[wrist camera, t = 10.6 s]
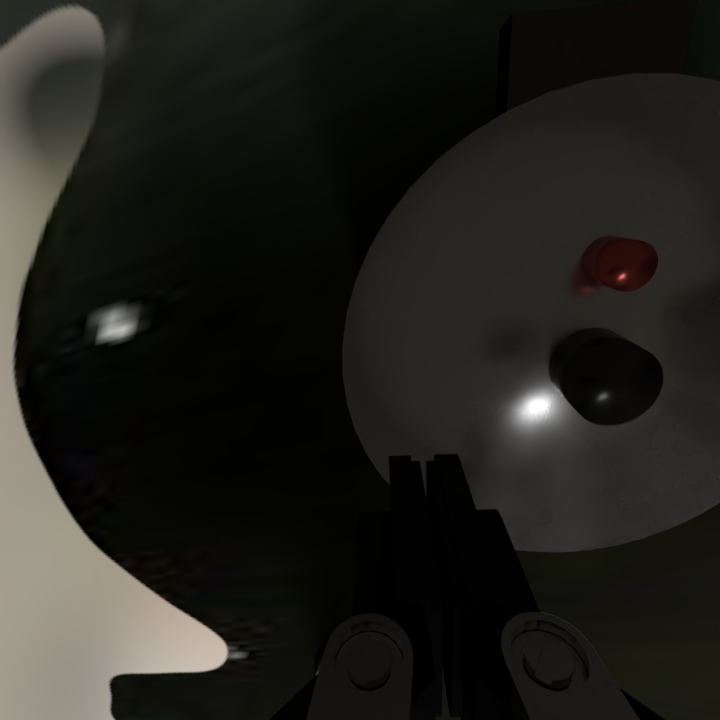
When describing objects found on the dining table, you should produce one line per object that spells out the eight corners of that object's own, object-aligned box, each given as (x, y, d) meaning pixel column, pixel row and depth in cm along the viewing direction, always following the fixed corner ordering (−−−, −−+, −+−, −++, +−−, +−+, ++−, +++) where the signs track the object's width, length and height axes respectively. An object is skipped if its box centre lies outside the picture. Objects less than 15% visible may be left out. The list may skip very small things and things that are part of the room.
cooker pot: (626, 437, 32) (758, 565, 21) (372, 444, 33) (370, 571, 22) (701, 68, 23) (996, -45, 12) (352, 96, 25) (333, 14, 13)
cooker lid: (749, 527, 20) (814, 585, 17) (358, 537, 21) (356, 594, 18) (919, 60, 13) (1077, 22, 10) (324, 105, 14) (311, 80, 11)
